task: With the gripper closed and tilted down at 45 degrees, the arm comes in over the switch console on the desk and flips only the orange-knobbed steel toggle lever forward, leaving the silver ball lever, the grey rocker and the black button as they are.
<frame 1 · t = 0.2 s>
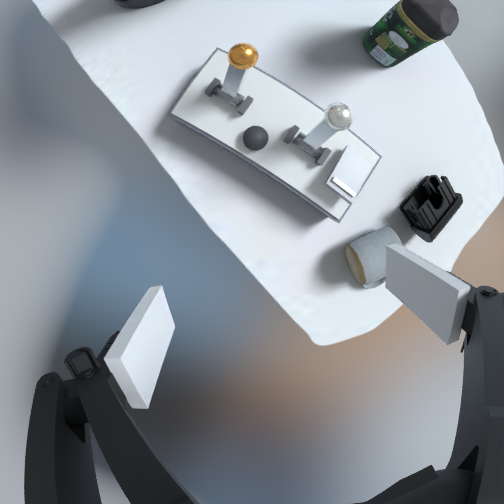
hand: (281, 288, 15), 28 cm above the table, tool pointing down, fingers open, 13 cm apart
console: (275, 134, 38), on the table
rocker grey: (349, 174, 33), point 7 cm above the table, hinge at -12.0°
lever orange: (235, 75, 26), point 10 cm above the table, hinge at -25.0°
coffee jar: (383, 46, 33), on the table
silver ball lever: (323, 130, 29), point 10 cm above the table, hinge at -25.0°
ceramic mug: (368, 255, 44), on the table
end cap: (422, 204, 42), on the table
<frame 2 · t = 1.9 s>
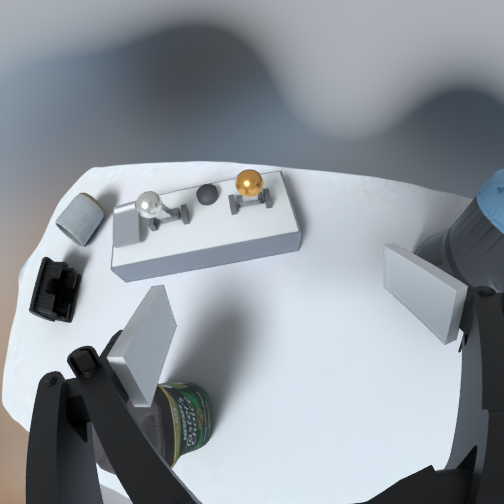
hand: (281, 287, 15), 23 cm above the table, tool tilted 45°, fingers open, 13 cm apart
console: (204, 234, 44), on the table
rocker grey: (126, 223, 37), point 7 cm above the table, hinge at -12.0°
lever orange: (249, 191, 34), point 10 cm above the table, hinge at -25.0°
coffee jar: (185, 414, 31), on the table
silver ball lever: (158, 210, 34), point 10 cm above the table, hinge at -25.0°
ceramic mug: (86, 229, 47), on the table
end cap: (64, 297, 41), on the table
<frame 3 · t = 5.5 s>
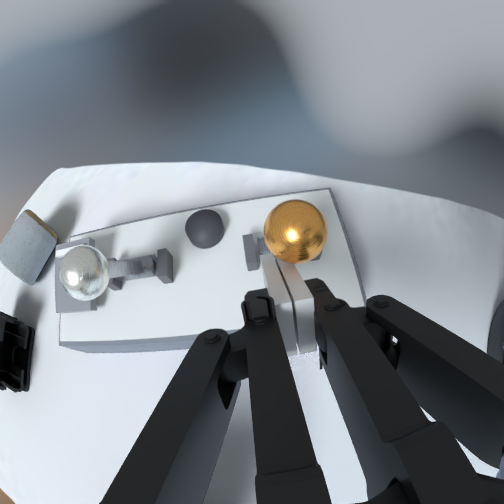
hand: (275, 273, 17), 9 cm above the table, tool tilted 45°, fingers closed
console: (200, 287, 27), on the table
rocker grey: (72, 276, 21), point 7 cm above the table, hinge at -12.0°
lever orange: (288, 238, 17), point 10 cm above the table, hinge at -22.6°, touching gripper
silver ball lever: (111, 270, 17), point 10 cm above the table, hinge at -25.0°
ceramic mug: (39, 256, 31), on the table
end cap: (19, 355, 25), on the table
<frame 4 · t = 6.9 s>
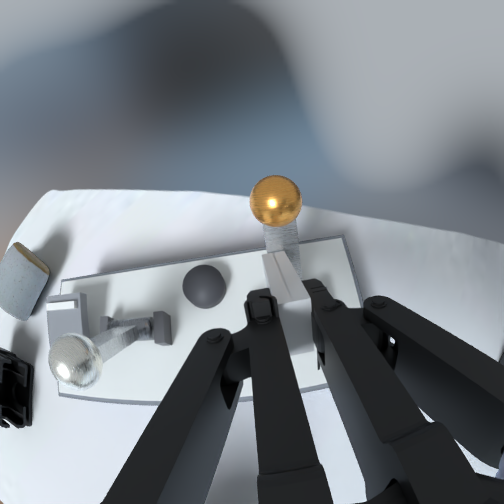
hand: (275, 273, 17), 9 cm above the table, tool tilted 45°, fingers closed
console: (201, 338, 25), on the table
rocker grey: (66, 332, 18), point 7 cm above the table, hinge at -12.0°
lever orange: (283, 254, 18), point 9 cm above the table, hinge at 47.1°, touching gripper
silver ball lever: (105, 344, 15), point 10 cm above the table, hinge at -25.0°
ceramic mug: (32, 287, 29), on the table
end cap: (19, 389, 23), on the table
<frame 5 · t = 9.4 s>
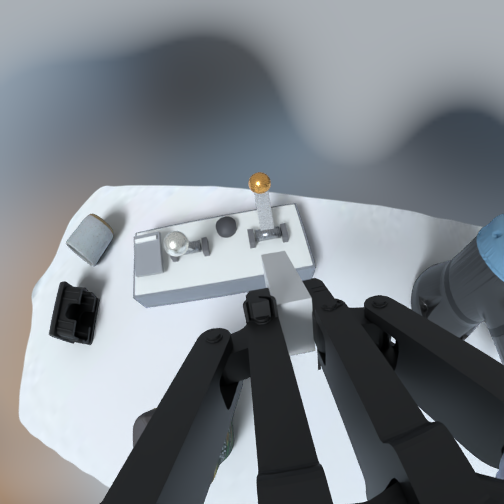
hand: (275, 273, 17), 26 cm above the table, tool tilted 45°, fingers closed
console: (221, 262, 47), on the table
rocker grey: (147, 254, 40), point 7 cm above the table, hinge at -12.0°
lever orange: (263, 206, 40), point 9 cm above the table, hinge at 47.1°
coffee jar: (208, 430, 34), on the table
silver ball lever: (182, 245, 36), point 10 cm above the table, hinge at -25.0°
ceramic mug: (95, 247, 50), on the table
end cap: (82, 319, 43), on the table
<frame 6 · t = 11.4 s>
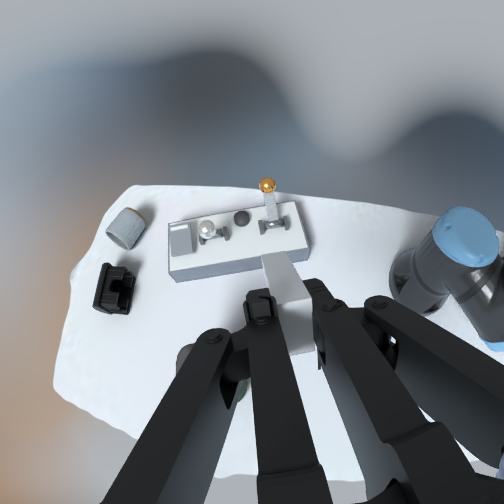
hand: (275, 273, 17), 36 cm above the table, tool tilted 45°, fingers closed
console: (237, 246, 60), on the table
rocker grey: (180, 238, 53), point 7 cm above the table, hinge at -12.0°
lever orange: (270, 203, 53), point 9 cm above the table, hinge at 47.1°
coffee jar: (226, 379, 47), on the table
silver ball lever: (210, 231, 50), point 10 cm above the table, hinge at -25.0°
ceramic mug: (128, 235, 64), on the table
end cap: (120, 295, 57), on the table
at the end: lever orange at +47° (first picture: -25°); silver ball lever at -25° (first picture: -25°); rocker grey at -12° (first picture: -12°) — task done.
